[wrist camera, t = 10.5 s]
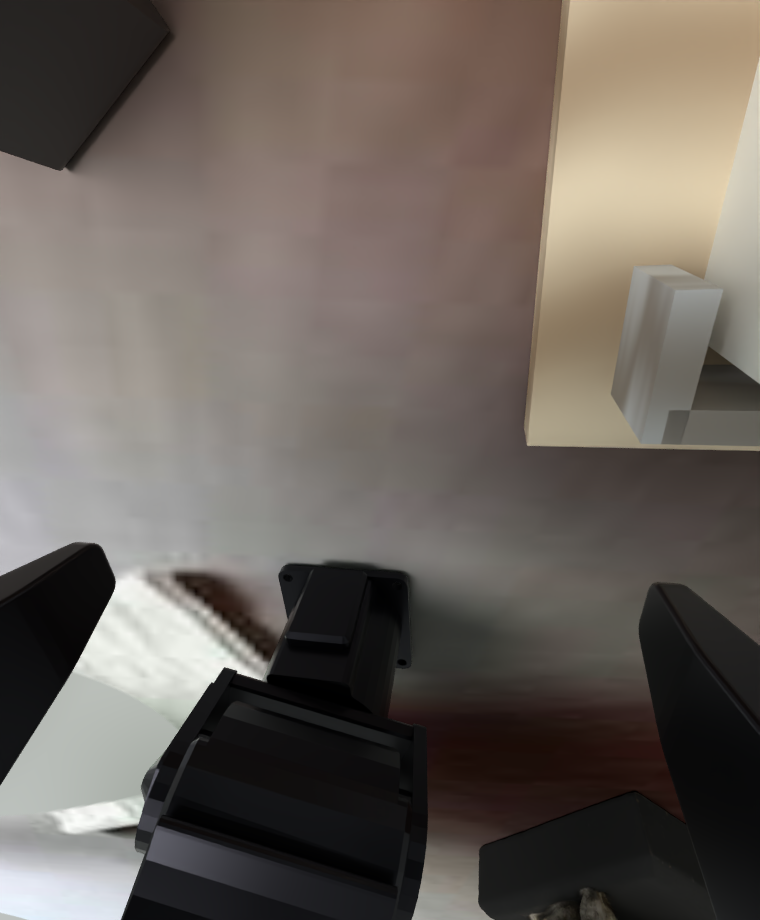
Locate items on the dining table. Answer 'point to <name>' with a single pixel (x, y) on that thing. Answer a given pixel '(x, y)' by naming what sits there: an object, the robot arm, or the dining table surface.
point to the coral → (597, 868)
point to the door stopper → (67, 69)
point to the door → (740, 251)
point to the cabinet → (640, 228)
